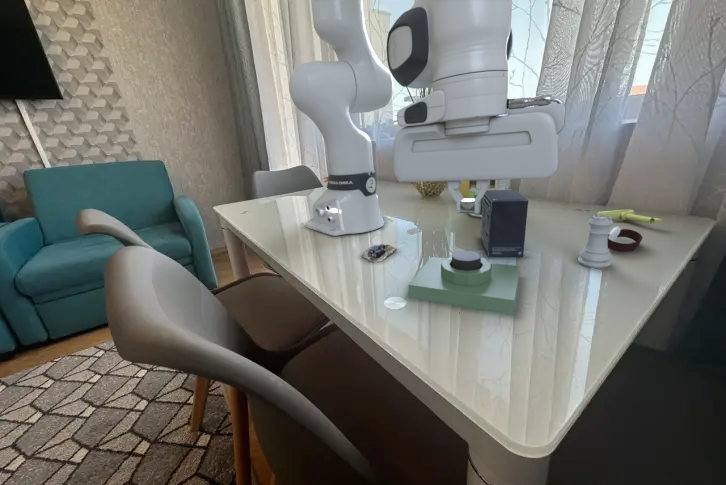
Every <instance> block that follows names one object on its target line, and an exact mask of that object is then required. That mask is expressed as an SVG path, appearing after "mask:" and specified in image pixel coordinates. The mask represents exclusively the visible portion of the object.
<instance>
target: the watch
mask: <svg viewBox="0 0 726 485" xmlns="http://www.w3.org/2000/svg"><path fill="white" fill-rule="evenodd" d="M609 231H610V233H609V234H608V249H609V250H612V251H614V252H633V251H635V250H637V248H638V247H639V246H640V244H641V242H642V240H643V235H642V234H641V233H640V232H638V231H636V230H634V229H628V228H620V227H619V226H614V227H613V228H611V229H610V230H609ZM617 238H627V239H630V240H633V241H634V242H631V243H621V242H617V241H615V240H616V239H617Z"/></svg>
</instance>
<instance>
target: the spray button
mask: <svg viewBox="0 0 726 485" xmlns="http://www.w3.org/2000/svg"><path fill="white" fill-rule="evenodd" d="M451 257H452V268H455V269H458V270H464V271H470V270H477V269H479V268H480V263H481V258H482V257H481V254H480V253H478V252H476V251H471V250H458V251H455V252H453V253H452V255H451Z"/></svg>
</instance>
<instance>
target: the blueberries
mask: <svg viewBox="0 0 726 485" xmlns="http://www.w3.org/2000/svg"><path fill="white" fill-rule="evenodd" d="M397 250H398V249H397V247H395V246H394V247H393V245H391V244H384V243H381V244H374V245H372V246H370V247H368V248H367V249H366V250H365V251H364V252H363V254H362V257H363V259H366V260H367V261H368V262H370V263H380V262H383V261H384V260H385V259H387V258H388V257H387V256H390V254H393V253H394V252H396V251H397Z"/></svg>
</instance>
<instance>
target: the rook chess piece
mask: <svg viewBox="0 0 726 485" xmlns="http://www.w3.org/2000/svg"><path fill="white" fill-rule="evenodd" d="M606 217H607V215H605V214H603V217H600V214H597V213H596V214H591V217H590V219H588V220H587V223H588V224H589V225H590V228H589V229H588V230H587V231H588V238H587V241H586V244H585V246H583V249H581V250H580V252H579V254H578V255H579V257H578V258H577V259H578V262H579V263H580V264H581V265H582V266H584V267H587V268H592V269H606V268H608V267H610V266H611V265H612V261H611V260H612V258H613V257H612V254H611V253H610V249H609V248H608V234H609V233H610V231H611V230H610V227H612V226H613V225H614V224H615V223H614V221H613V220H612V219H611V218H612V217H611V216H610V215H609V216H608V218H606Z"/></svg>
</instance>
